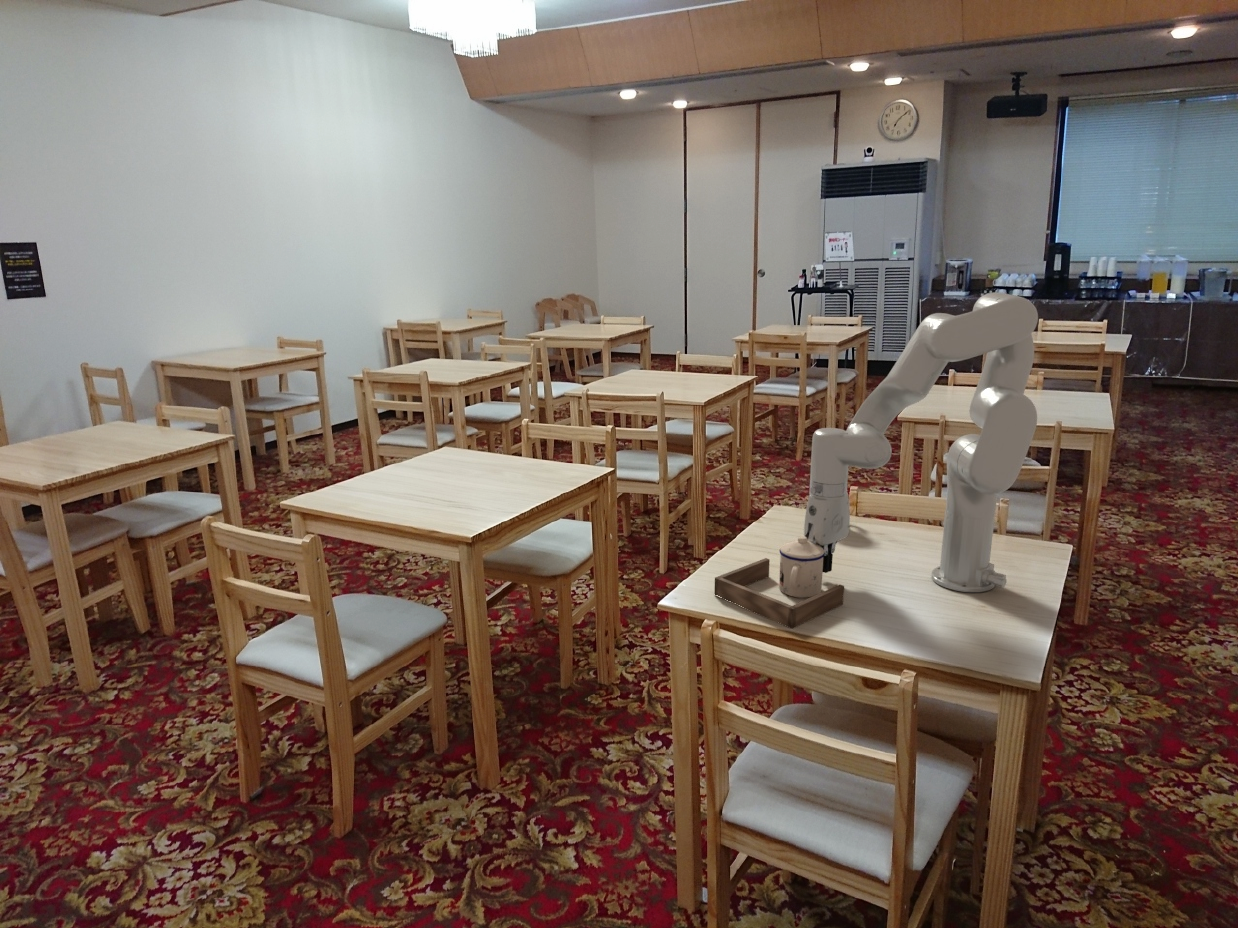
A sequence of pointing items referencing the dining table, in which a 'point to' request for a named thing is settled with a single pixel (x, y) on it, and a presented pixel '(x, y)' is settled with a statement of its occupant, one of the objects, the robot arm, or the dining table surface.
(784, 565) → the teacup with lid
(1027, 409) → the robot arm
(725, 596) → the box
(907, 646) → the dining table surface
